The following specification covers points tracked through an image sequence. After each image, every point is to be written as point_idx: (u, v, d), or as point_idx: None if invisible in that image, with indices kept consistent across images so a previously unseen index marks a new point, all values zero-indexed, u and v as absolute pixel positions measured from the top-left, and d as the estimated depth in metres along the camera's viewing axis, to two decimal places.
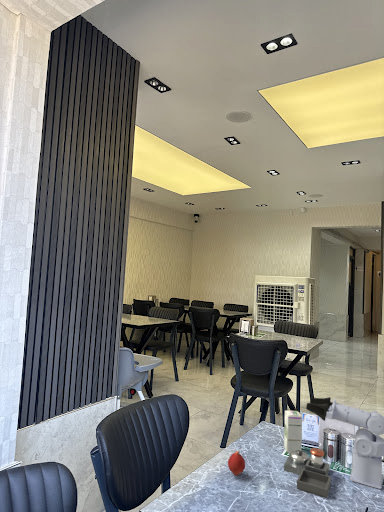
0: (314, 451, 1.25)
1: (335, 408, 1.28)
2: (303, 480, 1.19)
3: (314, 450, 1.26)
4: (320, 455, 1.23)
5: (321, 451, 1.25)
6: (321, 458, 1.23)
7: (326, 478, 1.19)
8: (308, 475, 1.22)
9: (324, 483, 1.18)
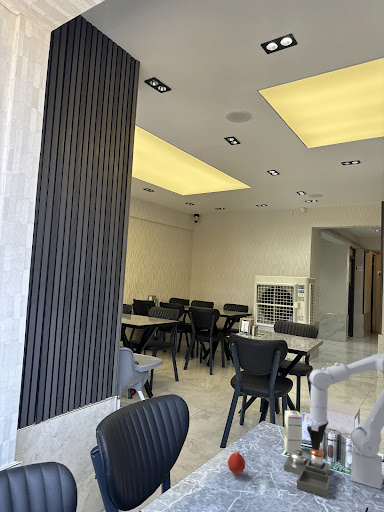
0: (314, 451, 1.25)
1: (312, 418, 1.25)
2: (303, 480, 1.19)
3: (314, 450, 1.26)
4: (320, 455, 1.23)
5: (321, 451, 1.25)
6: (321, 458, 1.23)
7: (326, 478, 1.19)
8: (308, 475, 1.22)
9: (324, 483, 1.18)
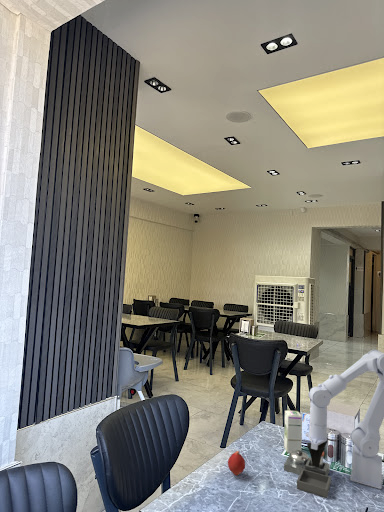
0: None
1: (312, 435, 1.24)
2: (303, 480, 1.19)
3: None
4: None
5: None
6: (321, 458, 1.23)
7: (326, 478, 1.19)
8: (308, 475, 1.22)
9: (324, 483, 1.18)
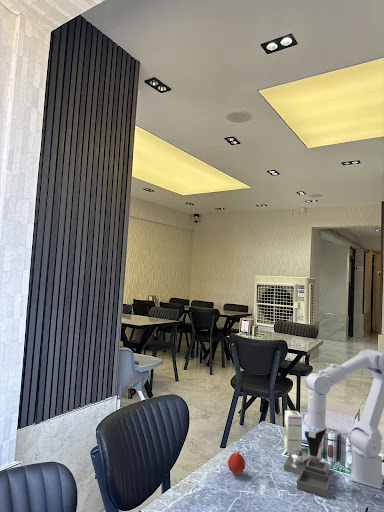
0: None
1: (309, 424, 1.19)
2: (303, 480, 1.19)
3: None
4: None
5: None
6: (319, 449, 1.18)
7: (326, 478, 1.19)
8: (308, 475, 1.22)
9: (324, 483, 1.18)
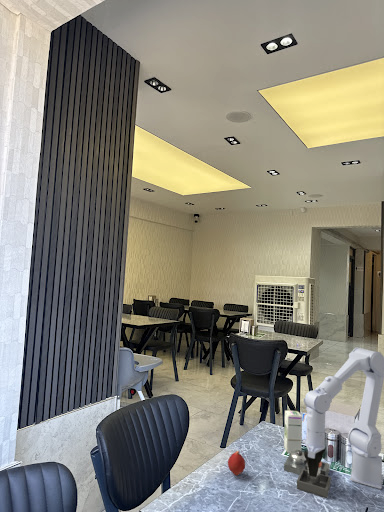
0: None
1: (309, 443, 1.17)
2: (303, 480, 1.19)
3: None
4: None
5: None
6: (318, 469, 1.16)
7: (326, 478, 1.19)
8: None
9: (324, 483, 1.18)
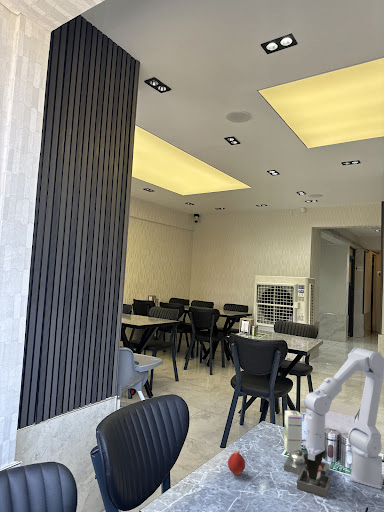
0: None
1: (309, 445, 1.17)
2: (303, 480, 1.19)
3: None
4: None
5: None
6: (318, 473, 1.16)
7: (326, 478, 1.19)
8: None
9: (324, 483, 1.18)
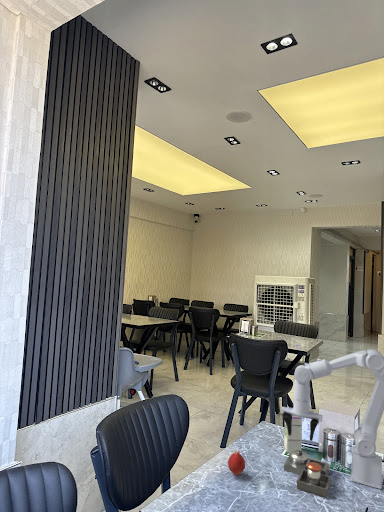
0: (311, 465, 1.17)
1: None
2: (303, 480, 1.19)
3: (311, 464, 1.18)
4: (317, 470, 1.16)
5: (318, 465, 1.18)
6: (318, 473, 1.16)
7: (326, 478, 1.19)
8: None
9: (324, 483, 1.18)
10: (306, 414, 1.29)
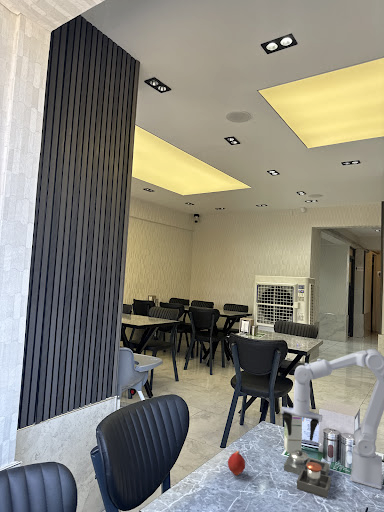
0: (311, 466, 1.17)
1: None
2: (303, 480, 1.19)
3: (311, 464, 1.18)
4: (317, 470, 1.15)
5: (318, 465, 1.18)
6: (318, 473, 1.16)
7: (326, 478, 1.19)
8: None
9: (324, 483, 1.18)
10: (306, 414, 1.29)
